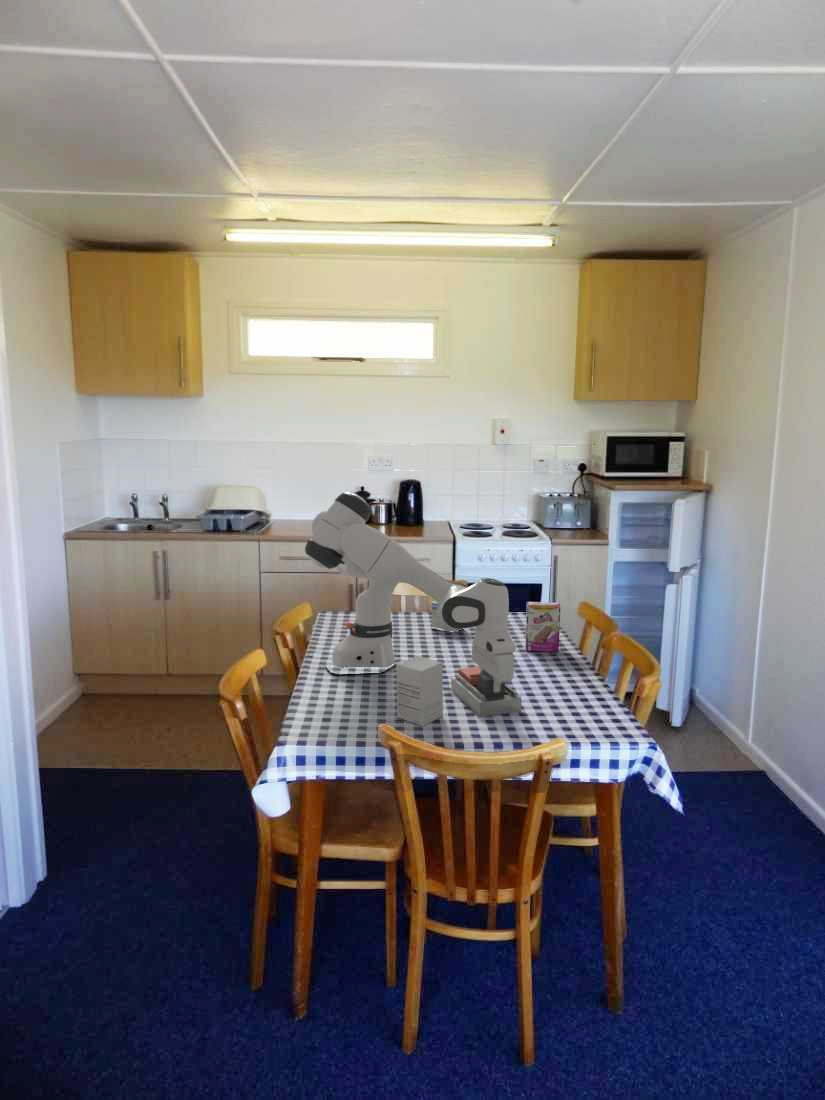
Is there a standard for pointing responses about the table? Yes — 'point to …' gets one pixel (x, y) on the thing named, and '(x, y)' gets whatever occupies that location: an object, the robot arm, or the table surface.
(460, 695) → the socket
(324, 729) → the table surface
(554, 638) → the candy bar box
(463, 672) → the red stepped block
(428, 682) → the supplement box
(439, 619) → the light bulb box
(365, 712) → the table surface
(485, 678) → the plug
